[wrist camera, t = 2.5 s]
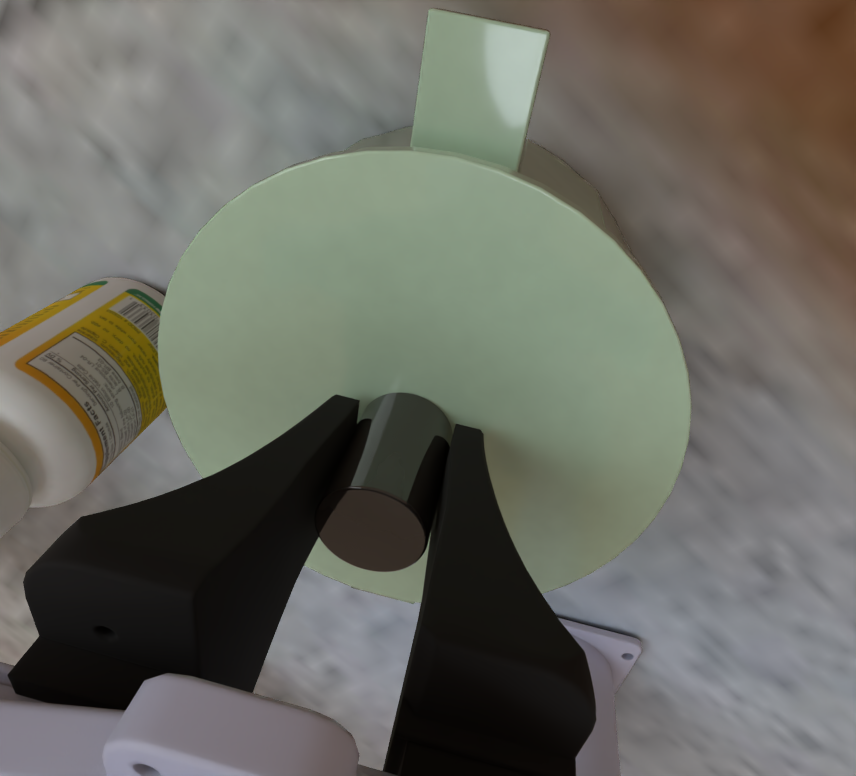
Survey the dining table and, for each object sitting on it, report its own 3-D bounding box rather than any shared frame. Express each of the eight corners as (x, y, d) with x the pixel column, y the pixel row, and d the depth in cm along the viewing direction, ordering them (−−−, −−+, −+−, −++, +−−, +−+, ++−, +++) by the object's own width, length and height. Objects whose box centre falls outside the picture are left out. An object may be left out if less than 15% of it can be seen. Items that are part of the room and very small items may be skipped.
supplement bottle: (202, 294, 22) (0, 454, 14) (204, 406, 25) (38, 591, 17) (67, 256, 22) (-208, 393, 14) (85, 372, 25) (-134, 539, 17)
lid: (793, 216, 12) (908, 314, 8) (585, 620, 19) (591, 772, 15) (156, 82, 12) (-21, 110, 9) (195, 518, 20) (109, 637, 16)
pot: (743, 63, 15) (834, 88, 10) (552, 531, 25) (551, 659, 20) (285, -26, 16) (162, -44, 11) (276, 461, 26) (209, 568, 21)
